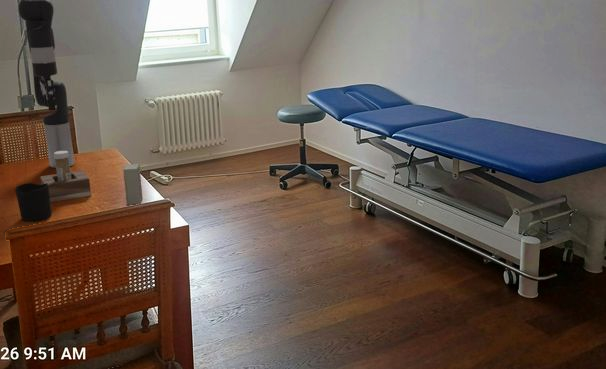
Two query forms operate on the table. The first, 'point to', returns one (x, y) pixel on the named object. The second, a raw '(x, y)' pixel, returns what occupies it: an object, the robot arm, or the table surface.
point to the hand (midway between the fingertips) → (50, 108)
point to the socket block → (67, 186)
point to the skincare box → (132, 183)
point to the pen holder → (33, 201)
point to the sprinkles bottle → (62, 165)
